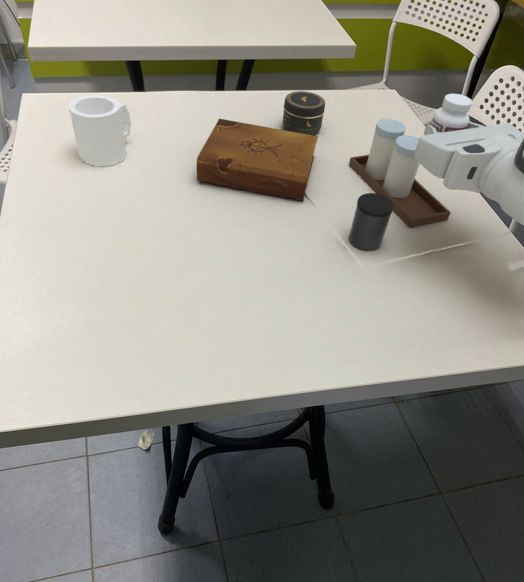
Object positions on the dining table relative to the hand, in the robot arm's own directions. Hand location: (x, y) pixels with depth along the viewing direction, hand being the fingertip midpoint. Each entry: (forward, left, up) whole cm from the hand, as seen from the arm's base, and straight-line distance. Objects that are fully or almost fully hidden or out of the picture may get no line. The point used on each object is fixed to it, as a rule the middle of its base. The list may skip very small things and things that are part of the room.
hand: (444, 126), depth 89 cm
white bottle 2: (-1, -9, -18) cm, 20 cm away
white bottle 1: (-1, -16, -18) cm, 24 cm away
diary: (+25, -25, -19) cm, 40 cm away
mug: (+55, -41, -19) cm, 71 cm away
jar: (+7, -40, -19) cm, 45 cm away
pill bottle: (0, +1, -6) cm, 6 cm away
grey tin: (+15, +5, -19) cm, 25 cm away
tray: (-1, -9, -19) cm, 21 cm away
